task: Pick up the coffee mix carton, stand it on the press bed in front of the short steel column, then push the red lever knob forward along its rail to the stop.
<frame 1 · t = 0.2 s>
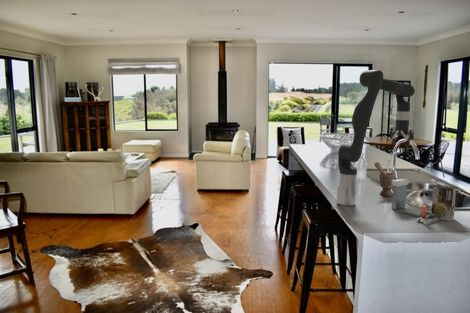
hand: (400, 146, 230), 29 cm above the table, fingers open, 8 cm apart
mortar and pestle: (383, 195, 230), on the table
coffee box: (442, 218, 188), on the table
lever: (424, 214, 180), point 4 cm above the table, slide at 0.0 cm
press: (414, 212, 196), on the table
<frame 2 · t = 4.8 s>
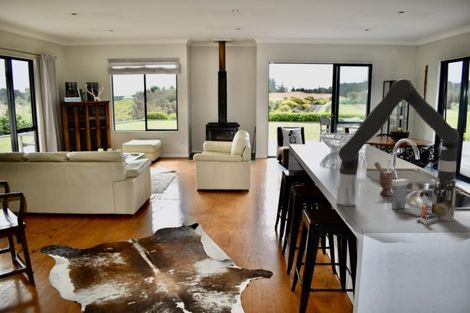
hand: (443, 202, 186), 8 cm above the table, fingers closed on coffee box, 7 cm apart
coffee box: (442, 218, 188), on the table, touching gripper
everything else where it was.
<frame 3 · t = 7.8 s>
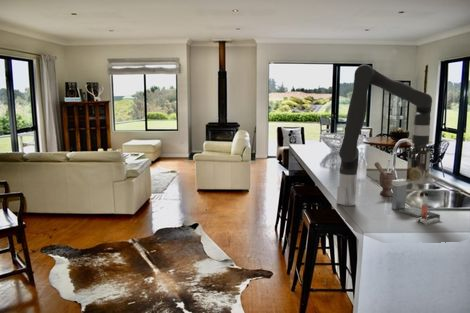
hand: (418, 166, 192), 24 cm above the table, fingers closed on coffee box, 7 cm apart
coffee box: (416, 182, 193), point 16 cm above the table, touching gripper
everything else where it was.
when the fingers open (10 cm above the table, at t = 10.9 s): coffee box stays where it is, resting on press.
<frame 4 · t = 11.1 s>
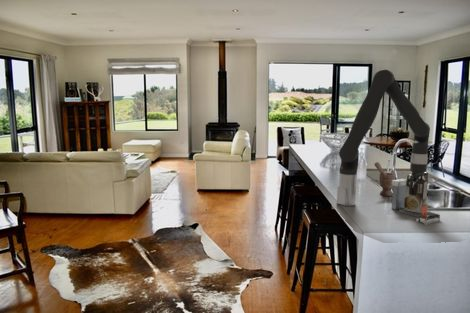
hand: (416, 193, 194), 10 cm above the table, fingers open, 8 cm apart
coffee box: (414, 211, 195), point 1 cm above the table, touching press
everything else where it was.
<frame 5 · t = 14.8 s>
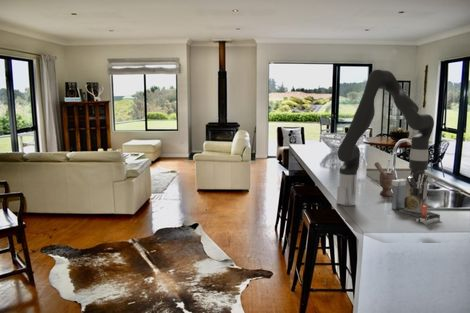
hand: (416, 196, 175), 14 cm above the table, fingers closed
nothing on the table moved.
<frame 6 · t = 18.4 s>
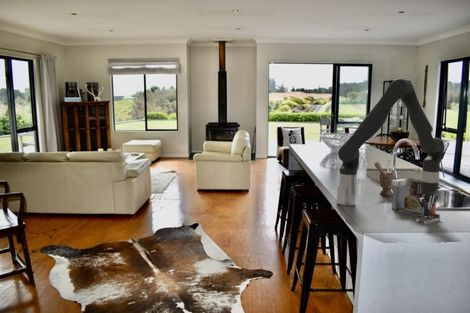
hand: (426, 215, 182), 3 cm above the table, fingers closed
lever: (432, 211, 184), point 4 cm above the table, slide at 6.9 cm, touching hand
everything else where it was.
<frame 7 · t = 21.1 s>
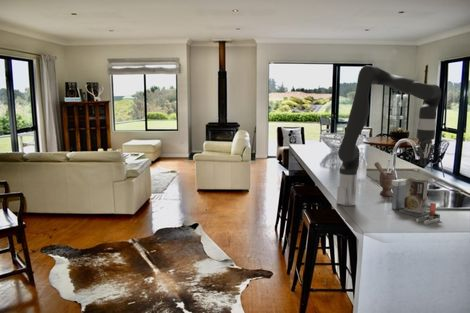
hand: (422, 165, 178), 27 cm above the table, fingers closed
lever: (432, 211, 184), point 4 cm above the table, slide at 6.9 cm
everything else where it was.
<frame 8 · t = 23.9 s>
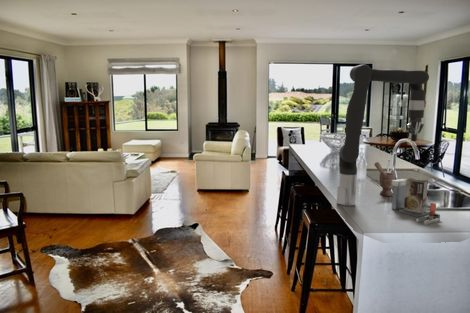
hand: (413, 141, 207), 35 cm above the table, fingers closed
nothing on the table moved.
at the end: coffee box inside the target area on the press (0.1 cm from its centre), point 1.0 cm above the press's base; coffee box tilted 0°; lever slide at 6.9 cm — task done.
